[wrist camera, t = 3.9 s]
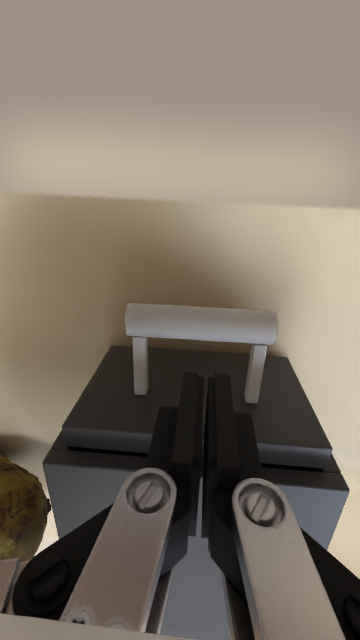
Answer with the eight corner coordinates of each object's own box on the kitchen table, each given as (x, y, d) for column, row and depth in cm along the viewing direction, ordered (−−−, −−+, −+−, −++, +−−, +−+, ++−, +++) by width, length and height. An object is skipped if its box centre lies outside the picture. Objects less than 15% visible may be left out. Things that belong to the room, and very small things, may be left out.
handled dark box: (105, 274, 17) (43, 326, 11) (302, 284, 17) (366, 346, 10) (121, 486, 25) (90, 595, 18) (258, 499, 24) (278, 617, 17)
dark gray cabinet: (107, 353, 21) (41, 462, 12) (290, 365, 20) (350, 490, 12) (118, 494, 27) (79, 632, 18) (260, 507, 26) (286, 658, 17)
